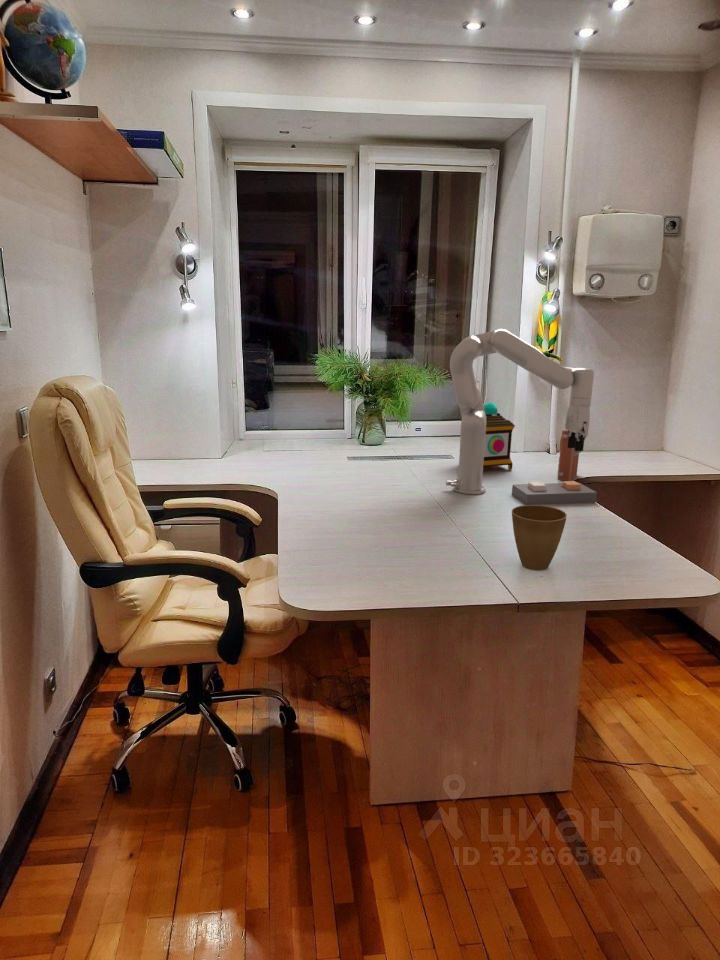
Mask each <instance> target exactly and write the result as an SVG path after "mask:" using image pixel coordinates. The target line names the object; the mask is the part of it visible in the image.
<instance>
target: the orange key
mask: <svg viewBox="0 0 720 960" xmlns="http://www.w3.org/2000/svg"><path fill="white" fill-rule="evenodd" d="M561 483H562V487H563V488H565V489H566V490H580V487H581V484H582V483H581V484H579V483H580V482H577V481H575V480H570V481H567V480H562V482H561Z"/></svg>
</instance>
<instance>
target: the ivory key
mask: <svg viewBox="0 0 720 960" xmlns="http://www.w3.org/2000/svg"><path fill="white" fill-rule="evenodd" d="M527 484H528V488H529V489H530V490H532V491H546V485H545V484H546V483H543V482H541V481H532V482H531V481H530V482H528V483H527Z"/></svg>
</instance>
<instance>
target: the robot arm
mask: <svg viewBox="0 0 720 960" xmlns="http://www.w3.org/2000/svg"><path fill="white" fill-rule="evenodd" d="M496 353H497V354H499V355H501V356H502V357H504V358H506V359H508V360H509V361H511V362H513V363H514V364H516V365H517V366H519V367H521V368H523V370H526V371H527V372H529V373H531V374H533V375H535V376H537V377H538V378H540V379H542V380H543V381H544V382H546V383H548V384H550V385H551V386H553V387H554V388H557V389H559V390H566V389H568V388H570V396H569V397H570V398H569V404H568V408H567V413H566V419H565V424H564V429H565V428H566V429H567V430H568V437H570V438H568V448H575V451H581V452H583V451H584V447H585V441H586V438H587V437H588V436H589V427H590V420H591V419H590V417H591V410H590V408H591V407H592V406H591V404H592V394H593V386H594V377H595V370H594V369H592V368H587V367H586V368H585V367H576V368H575V367H567V366H563V365H561V364H559V363H558V362H556V361H555V360H553V359H551V358H549V357H548V356H546V355H545V354H544V353H543V352H542V351H540V349H538V348H537V347H535V346H533V345H531V344H530V343H528V342H526V341H524V339H522V338H519V337H518V336H516V335H515V334H513V333H512V332H510V331H509V330H507V329H503V328H499V329H497V330H492V331H488V332H484V333H479V334H473V335H469V336H466V337H465V338H463V340H461V342H460V343H458V344H457V346H456V347H454V349H453V351H452V353H451V355H450V360H449V370H450V375H451V379H452V380H451V381H452V385H453V389H454V395H455V401H456V403H457V405H458V407H459V410H460V411H459V413H460V415H461V416H460V417H461V422H460V432H459V433H460V437H459V438H460V439H459V441H460V442H459V460H458V473H457V474H458V476H457V477H455V479H453V480H446V481H445V486H449V487H453V491H454V492H456V493H459V494H464V495H480V494H481V495H482V494H484V493H485V492H486V487H485V486H484V485H483V474H484V467H483V461H484V447H485V434H486V414H485V410H484V405H485V404H484V401H483V398H482V397H483V396H482V392H481V389H480V387H479V386H478V385H477V382H476V378H475V372H474V367H473V366H474V365H473V363H474V361H475V360H476V359H477V358H479V357H482V356H487V355H493V354H496ZM580 431H581V432H580ZM579 434H582V435H581V436H579ZM576 435H577V438H575V437H576Z"/></svg>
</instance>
